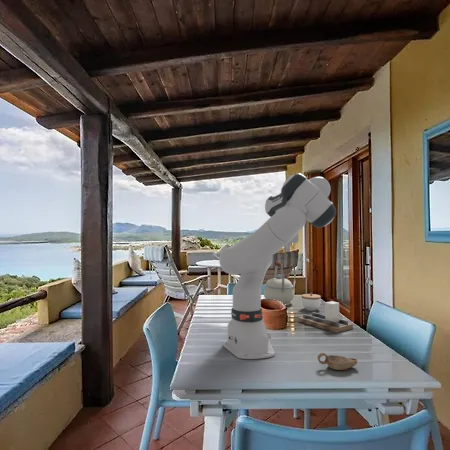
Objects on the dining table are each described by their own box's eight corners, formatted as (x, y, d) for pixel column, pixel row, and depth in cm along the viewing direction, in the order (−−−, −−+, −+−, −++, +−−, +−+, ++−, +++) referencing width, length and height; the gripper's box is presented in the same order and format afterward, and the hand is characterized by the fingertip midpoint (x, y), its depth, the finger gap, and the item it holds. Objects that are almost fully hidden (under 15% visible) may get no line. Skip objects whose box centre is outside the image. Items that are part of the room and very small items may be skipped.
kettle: (298, 307, 201) (298, 264, 201) (267, 307, 200) (267, 264, 200) (287, 298, 226) (288, 260, 226) (260, 298, 225) (260, 260, 225)
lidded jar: (303, 306, 203) (303, 290, 203) (322, 308, 199) (322, 291, 199) (299, 310, 193) (299, 293, 193) (319, 312, 189) (319, 295, 189)
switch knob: (325, 321, 161) (325, 302, 161) (332, 320, 164) (332, 301, 164) (332, 323, 158) (332, 304, 158) (339, 321, 161) (339, 302, 161)
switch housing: (298, 321, 170) (298, 314, 170) (314, 318, 177) (314, 311, 177) (336, 332, 152) (336, 324, 152) (352, 328, 159) (352, 320, 159)
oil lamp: (353, 364, 118) (353, 349, 118) (362, 373, 110) (362, 357, 110) (314, 363, 118) (314, 349, 118) (320, 373, 110) (320, 357, 110)
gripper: (301, 223, 165) (301, 252, 164) (285, 224, 185) (285, 250, 184) (289, 223, 163) (289, 252, 163) (274, 223, 183) (274, 250, 183)
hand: (287, 251), depth 174 cm, fingers closed
